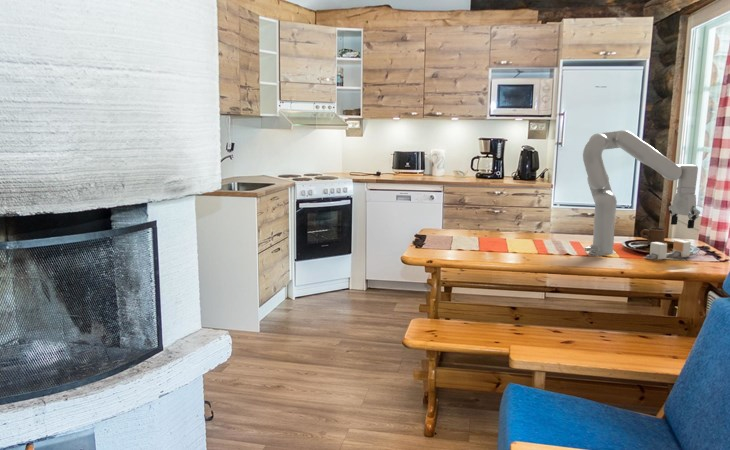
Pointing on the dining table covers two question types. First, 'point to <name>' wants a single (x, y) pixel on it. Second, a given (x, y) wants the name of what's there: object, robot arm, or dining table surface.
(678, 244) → the white and orange block
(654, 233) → the mug
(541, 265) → the dining table surface
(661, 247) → the white block
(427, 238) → the dining table surface
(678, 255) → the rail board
